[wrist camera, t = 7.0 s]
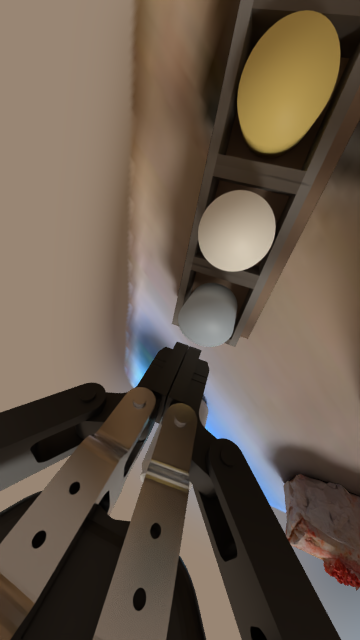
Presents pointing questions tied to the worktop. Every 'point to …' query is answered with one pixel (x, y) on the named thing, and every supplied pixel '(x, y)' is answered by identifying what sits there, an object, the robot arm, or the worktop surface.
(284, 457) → the worktop surface
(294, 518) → the food item
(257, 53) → the button mustard
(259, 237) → the button cream
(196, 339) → the button slate
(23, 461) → the robot arm
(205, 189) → the wooden compartment tray
